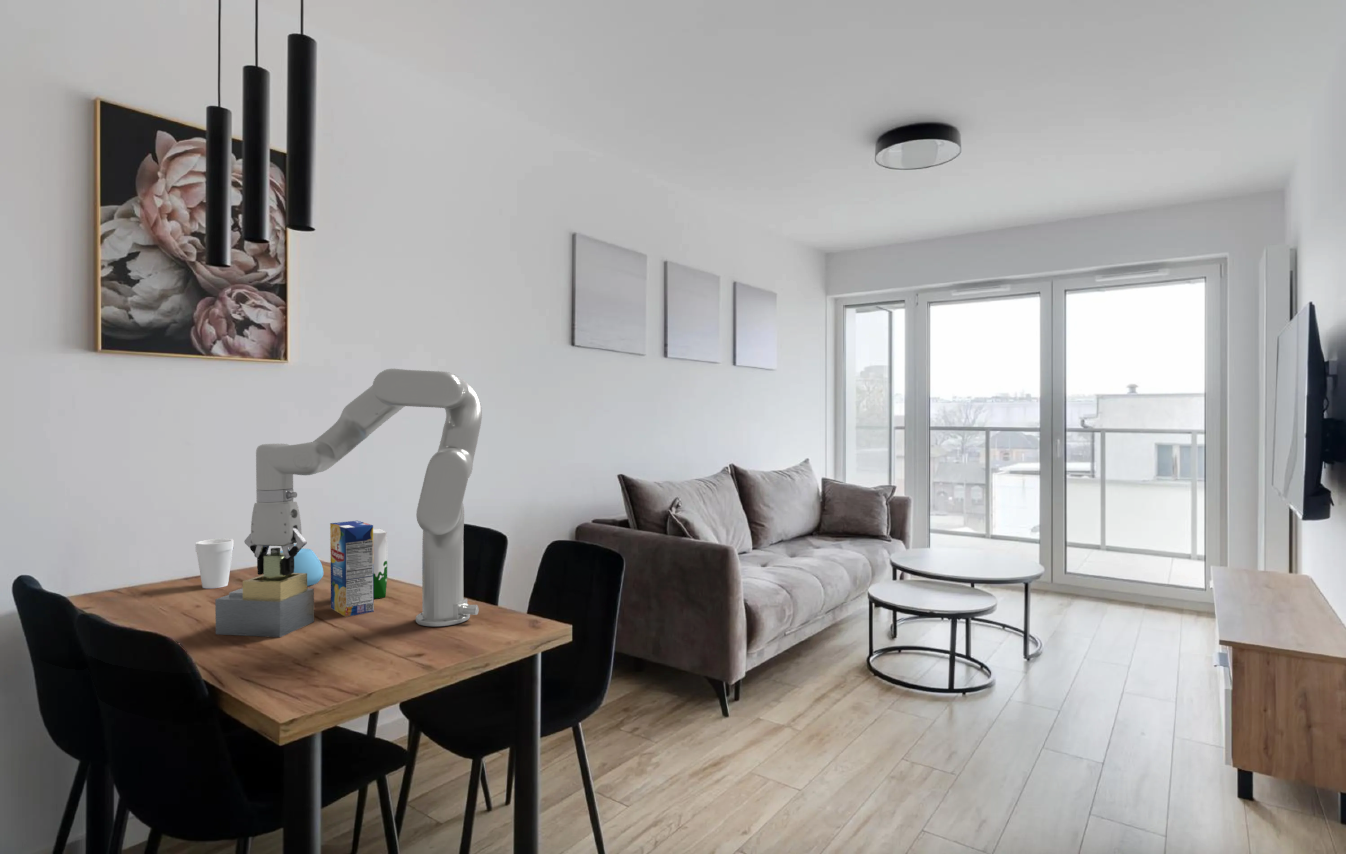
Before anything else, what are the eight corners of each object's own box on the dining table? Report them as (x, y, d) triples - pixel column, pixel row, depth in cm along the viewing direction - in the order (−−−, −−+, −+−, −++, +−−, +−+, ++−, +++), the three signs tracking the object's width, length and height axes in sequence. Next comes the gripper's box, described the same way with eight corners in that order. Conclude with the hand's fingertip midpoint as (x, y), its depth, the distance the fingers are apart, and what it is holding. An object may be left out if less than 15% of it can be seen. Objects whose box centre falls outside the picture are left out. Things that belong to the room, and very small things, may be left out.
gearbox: (314, 621, 171) (313, 572, 171) (280, 637, 160) (279, 584, 159) (253, 619, 174) (253, 570, 173) (215, 634, 162) (215, 581, 161)
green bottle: (292, 590, 168) (292, 546, 168) (278, 596, 163) (277, 550, 163) (273, 589, 169) (273, 546, 169) (258, 595, 164) (258, 550, 164)
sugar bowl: (261, 591, 200) (261, 550, 200) (270, 580, 214) (270, 542, 214) (320, 587, 206) (320, 547, 206) (325, 576, 220) (325, 538, 220)
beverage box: (345, 616, 176) (345, 528, 175) (330, 608, 184) (330, 523, 183) (373, 611, 180) (373, 525, 180) (358, 603, 188) (357, 520, 188)
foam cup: (207, 582, 211) (206, 538, 211) (240, 581, 212) (239, 538, 212) (189, 590, 202) (188, 544, 201) (223, 589, 203) (223, 544, 202)
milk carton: (348, 595, 196) (348, 523, 196) (383, 590, 201) (382, 520, 201) (354, 602, 189) (354, 527, 189) (390, 597, 194) (390, 524, 194)
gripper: (319, 495, 168) (319, 571, 169) (253, 494, 170) (253, 569, 171) (298, 499, 161) (299, 578, 161) (229, 497, 163) (230, 576, 163)
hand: (275, 573), depth 166 cm, fingers open, 5 cm apart
